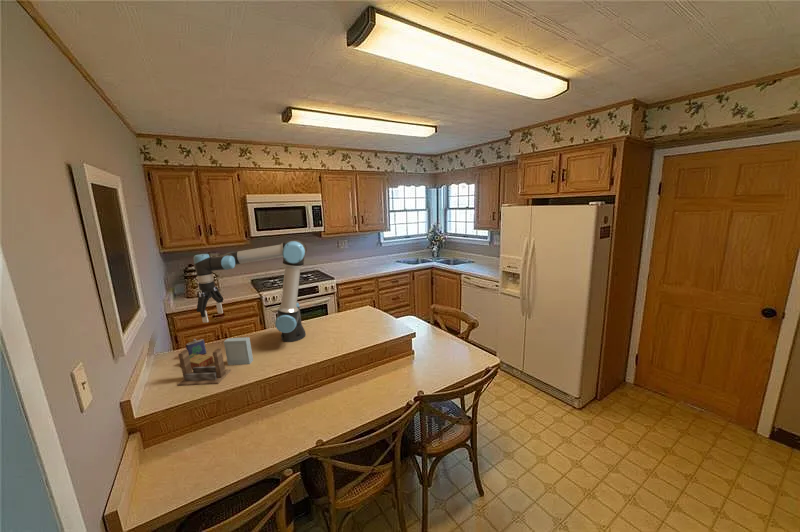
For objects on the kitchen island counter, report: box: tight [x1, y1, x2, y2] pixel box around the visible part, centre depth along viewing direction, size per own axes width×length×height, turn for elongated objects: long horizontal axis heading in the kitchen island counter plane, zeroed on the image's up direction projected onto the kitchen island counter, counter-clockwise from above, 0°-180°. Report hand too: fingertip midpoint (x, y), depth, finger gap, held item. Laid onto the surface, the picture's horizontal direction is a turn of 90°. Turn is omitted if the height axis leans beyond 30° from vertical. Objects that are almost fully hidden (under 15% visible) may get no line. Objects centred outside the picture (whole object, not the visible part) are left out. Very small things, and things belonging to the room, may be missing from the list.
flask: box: [185, 338, 207, 355], centre depth 179 cm, size 9×3×11 cm, turn 138°
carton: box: [189, 353, 215, 368], centre depth 171 cm, size 8×16×4 cm, turn 68°
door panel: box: [223, 336, 254, 366], centre depth 168 cm, size 12×4×14 cm, turn 90°
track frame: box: [177, 348, 232, 387], centre depth 155 cm, size 20×12×15 cm, turn 90°
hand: (213, 317), depth 175 cm, fingers open, 13 cm apart
